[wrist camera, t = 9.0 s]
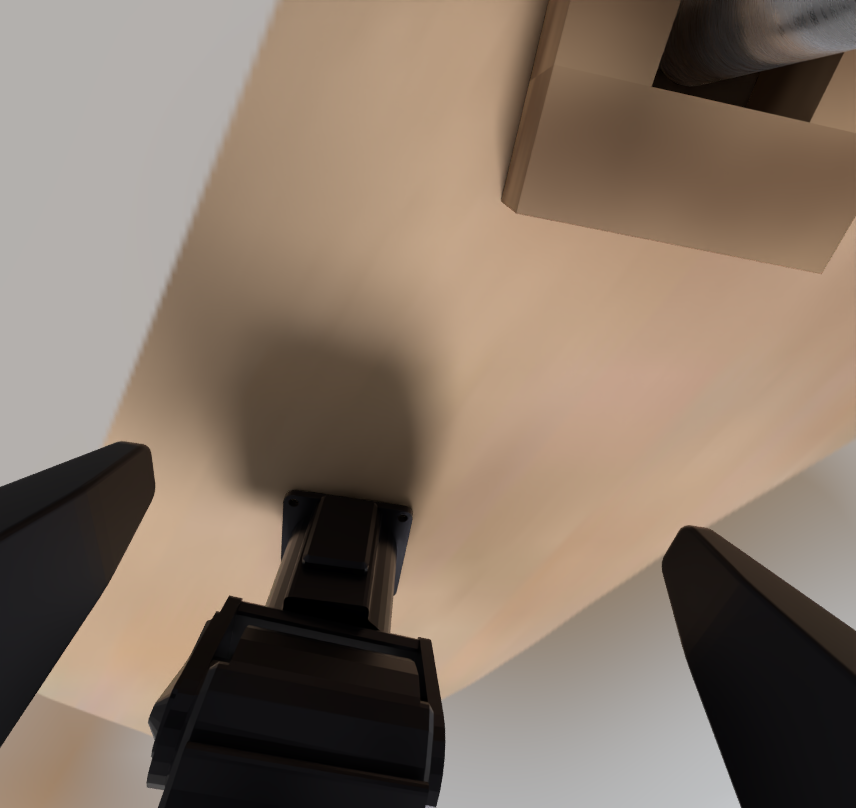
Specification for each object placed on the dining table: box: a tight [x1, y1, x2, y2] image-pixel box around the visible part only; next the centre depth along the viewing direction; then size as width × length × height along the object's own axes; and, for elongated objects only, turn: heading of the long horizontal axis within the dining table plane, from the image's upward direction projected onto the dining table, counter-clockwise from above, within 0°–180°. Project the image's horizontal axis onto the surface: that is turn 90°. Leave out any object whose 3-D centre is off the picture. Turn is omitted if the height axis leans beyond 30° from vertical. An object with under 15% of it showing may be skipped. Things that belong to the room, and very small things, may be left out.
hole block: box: [501, 0, 856, 274], centre depth 13 cm, size 12×10×4 cm
